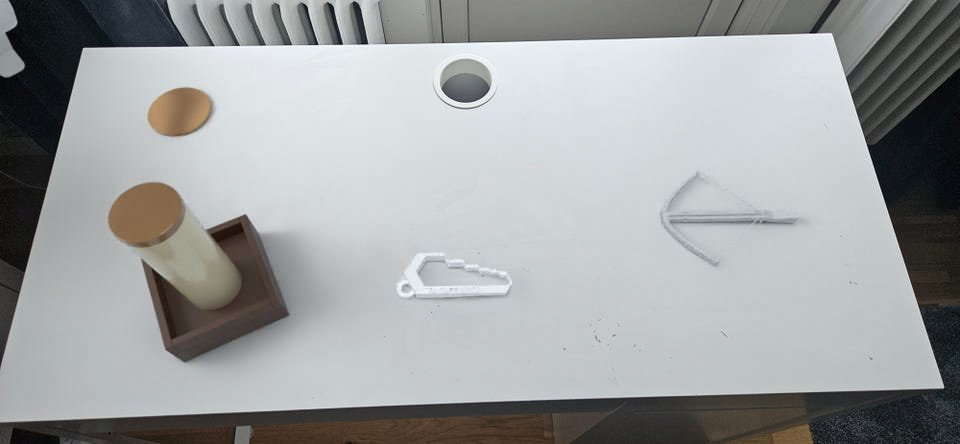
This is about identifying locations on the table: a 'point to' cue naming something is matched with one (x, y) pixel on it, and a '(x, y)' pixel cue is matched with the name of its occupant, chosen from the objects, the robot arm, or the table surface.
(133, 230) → the cylindrical canister
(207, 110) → the coaster
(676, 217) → the crossbow
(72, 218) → the table surface
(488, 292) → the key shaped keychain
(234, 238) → the tray
